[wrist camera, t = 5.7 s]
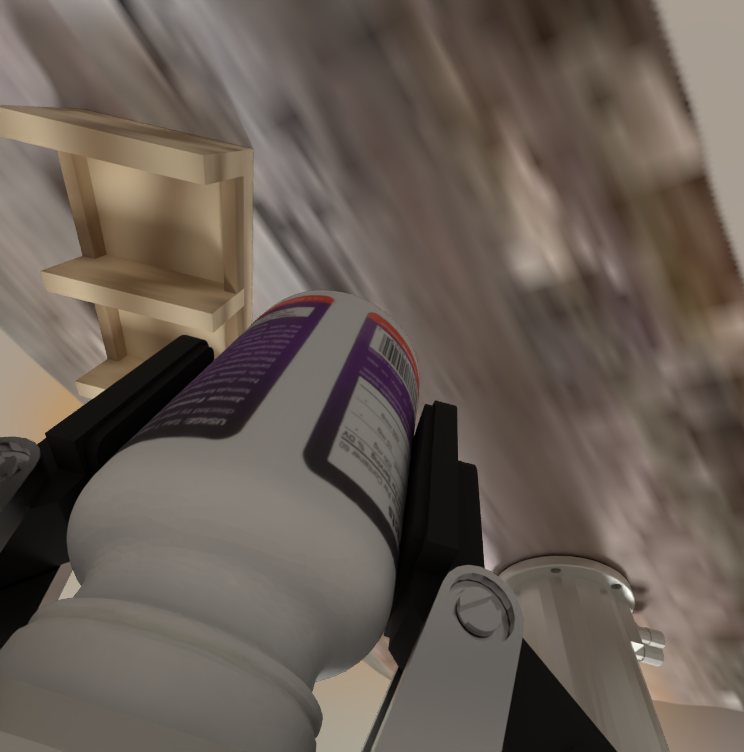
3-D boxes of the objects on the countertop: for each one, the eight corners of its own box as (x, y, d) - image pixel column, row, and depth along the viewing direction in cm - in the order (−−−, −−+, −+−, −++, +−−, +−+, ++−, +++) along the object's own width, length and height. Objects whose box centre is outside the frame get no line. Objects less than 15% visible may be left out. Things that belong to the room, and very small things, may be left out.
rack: (253, 149, 21) (203, 155, 17) (250, 388, 30) (218, 431, 26) (80, 108, 21) (-12, 104, 17) (131, 357, 31) (79, 395, 26)
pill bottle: (248, 406, 14) (-57, 804, 5) (263, 260, 11) (-343, 650, 3) (392, 453, 14) (303, 926, 5) (448, 320, 11) (438, 915, 2)
